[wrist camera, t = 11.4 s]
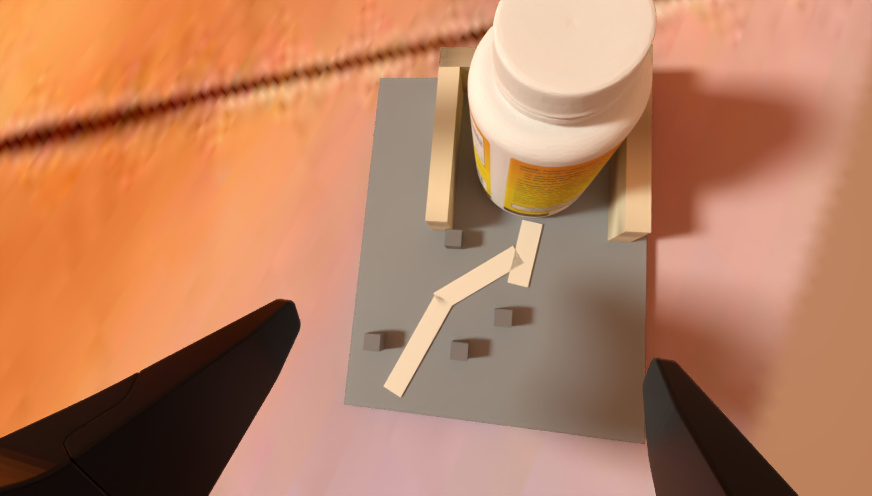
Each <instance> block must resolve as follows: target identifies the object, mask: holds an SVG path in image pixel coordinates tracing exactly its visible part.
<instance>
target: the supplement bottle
mask: <svg viewBox="0 0 872 496" xmlns="http://www.w3.org/2000/svg"><path fill="white" fill-rule="evenodd" d="M655 31H656V8H655V5H654V1H653V0H500V2H499V5H498V7H497V10H496V13H495V17H494V23H493V26H492V27H491V28H490V29H489V30H488V32H487V33H486V34H485V36H484V37H483V39H482V40H481V42H480V43H479V45H478V47H477V48H476V51H475V53H474V56H473V59H472V62H471V65H470V69H469V75H468V101H469V109H470V117H471V126H472V135H473V143H474V151H475V159H476V166H477V173H478V177H479V181H480V183H481V185H482V188H483V190H484V191H485V193H486V194H487V196H488V197H489V198H490V199H491V200H492V201H493V202H494V203H495V204H496V205H497V206H499V207H500V208H502V209H503V210H505V211H507V212H509V213H511V214H514V215H517V216H522V217H530V218H539V217H546V216H549V215H553V214H555V213H558V212H560V211H562V210H564V209H565V208H567V207H569V206H570V205H571V204H572V203H574V202H575V201H576V200H577V199H578V198H579V197H580V195H581V194H582V193H583V192H584V191H585V189H586V188H587V187H588V186H589V184H590V183H591V182H592V181H593V179H594V178H595V177H596V175H597V174H598V173H599V172H600V170H601V169H602V168H603V166H604V165H605V164H606V163H607V161H608V160H609V159H610V157H611V156H612V155H613V154H614V152H615V151H616V150H617V148H618V147H619V146H620V145H621V143H622V142H623V141H624V140H625V138H626V137H627V136H628V134H629V133H630V132H631V131H632V129H633V128H634V126H635V125H636V124H637V122H638V120H639V119H640V117H641V115H642V114H643V112H644V110H645V107H646V105H647V102H648V99H649V96H650V92H651V86H652V63H651V57H650V54H649V50H650V48H651V45H652V42H653V40H654V36H655Z"/></svg>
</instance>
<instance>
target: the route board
mask: <svg viewBox="0 0 872 496" xmlns="http://www.w3.org/2000/svg"><path fill="white" fill-rule="evenodd" d="M437 83H438V78H380V85H379V94H378V103H377V112H376V121H375V130H374V139H373V148H372V157H371V166H370V175H369V184H368V193H367V202H366V211H365V220H364V229H363V238H362V246H361V255H360V264H359V273H358V282H357V291H356V300H355V309H354V318H353V327H352V336H351V345H350V354H349V363H348V372H347V381H346V390H345V399H344V404H345V405H353V406H360V407H368V408H375V409H383V410H391V411H398V412H406V413H413V414H421V415H428V416H436V417H444V418H451V419H459V420H466V421H474V422H482V423H489V424H497V425H504V426H512V427H519V428H527V429H535V430H542V431H550V432H557V433H565V434H573V435H580V436H588V437H595V438H603V439H611V440H618V441H626V442H633V443H641V444H645V413H644V402H643V381H644V379H645V353H646V255H647V235H645V236H643V237H641V238H638V239H636V240H634V241H632V242H614V241H608V206H609V165H610V159H609V160H608V161H607V163H606V164H605V165H604V166H603V168H602V169H601V170H600V172H599V173H598V174H597V175H596V177H595V178H594V179H593V181H592V182H591V183H590V184H589V186H588V187H587V188H586V189H585V191H584V192H583V193H582V194H581V195H580V197H579V198H578V199H577V200H576V201H575V202H574V203H572V204H571V205H570V206H569V207H567V208H565V209H564V210H562V211H560V212H558V213H555V214H553V215H549V216H546V217H539V218H530V217H522V216H517V215H514V214H511V213H509V212H507V211H505V210H503V209H502V208H500V207H499V206H497V205H496V204H495V203H494V202H493V201H492V200H491V199H490V198H489V197H488V196H487V194H486V193H485V191H484V190H483V188H482V185H481V183H480V181H479V177H478V173H477V166H476V159H475V151H474V143H473V135H472V126H471V117H470V109H469V101H468V95H464V97H463V109H462V122H461V134H460V147H459V160H458V172H457V185H456V197H455V210H454V223H453V230H451V229H445V232H439V231H433V230H432V229H431V227H430V226H429V225H428V224H427V222H426V221H425V217H426V206H427V195H428V184H429V172H430V161H431V150H432V139H433V128H434V117H435V105H436V94H437Z"/></svg>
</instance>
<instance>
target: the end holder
mask: <svg viewBox="0 0 872 496" xmlns="http://www.w3.org/2000/svg"><path fill="white" fill-rule="evenodd" d="M476 48H477V47H457V48H441V50H440V61H439V72H438V83H437V94H436V105H435V117H434V128H433V139H432V150H431V161H430V172H429V184H428V195H427V206H426V217H425V221H426V222H427V224H428V225H429V226H430V227H431V229H432V230H433V231H439V232H445V229H451V230H453V223H454V210H455V197H456V185H457V172H458V160H459V147H460V134H461V122H462V109H463V97H464V95H468V75H469V69H470V65H471V62H472V59H473V56H474V53H475V51H476ZM649 54H650V57H651V63H652V68H653V44H652V45H651V48H650V50H649ZM651 184H652V86H651V92H650V96H649V99H648V102H647V105H646V107H645V110H644V112H643V114H642V115H641V117H640V119H639V120H638V122H637V124H636V125H635V126H634V128H633V129H632V131H631V132H630V133H629V134H628V136H627V137H626V138H625V140H624V141H623V142H622V143H621V145H620V146H619V147H618V148H617V150H616V151H615V152H614V154H613V155H612V156H611V157H610V165H609V206H608V241H614V242H632V241H634V240H636V239H638V238H641V237H643V236H645V235H647V234H649V233H651Z"/></svg>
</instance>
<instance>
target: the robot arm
mask: <svg viewBox="0 0 872 496" xmlns="http://www.w3.org/2000/svg"><path fill="white" fill-rule="evenodd" d="M299 330H300V319H299V316H298V313H297V309H296V306H295V303H294V302H293V301H291V300H285V299H277V300H275V301H273V302H271V303H269V304H267V305H265V306H263V307H261V308H259V309H257V310H256V311H254V312H252V313H250V314H248V315H246V316H244V317H242V318H240V319H238V320H236V321H235V322H233V323H231V324H229V325H227V326H225V327H223V328H221V329H219V330H217V331H216V332H214V333H212V334H210V335H208V336H206V337H204V338H202V339H200V340H198V341H196V342H195V343H193V344H191V345H189V346H187V347H185V348H183V349H181V350H179V351H177V352H175V353H174V354H172V355H170V356H168V357H166V358H164V359H162V360H160V361H158V362H156V363H154V364H153V365H151V366H149V367H147V368H145V369H143V370H141V371H140V373H135V374H133V375H131V376H130V377H128V378H126V379H124V380H122V381H120V382H118V383H116V384H114V385H112V386H110V387H108V388H106V389H104V390H102V391H100V392H98V393H96V394H94V395H92V396H90V397H88V398H86V399H84V400H82V401H80V402H78V403H75V404H73V405H71V406H69V407H67V408H65V409H63V410H60V411H58V412H56V413H54V414H52V415H50V416H47V417H45V418H43V419H41V420H39V421H37V422H34V423H32V424H30V425H28V426H26V427H24V428H21V429H19V430H17V431H15V432H13V433H11V434H8V435H6V436H4V437H2V438H0V496H209V494H210V492H211V491H212V489H213V487H214V485H215V484H216V482H217V480H218V479H219V477H220V475H221V474H222V472H223V470H224V468H225V467H226V465H227V463H228V462H229V460H230V458H231V457H232V455H233V453H234V452H235V450H236V448H237V446H238V445H239V443H240V441H241V440H242V438H243V436H244V435H245V433H246V431H247V429H248V428H249V426H250V424H251V423H252V421H253V419H254V418H255V416H256V414H257V412H258V411H259V409H260V407H261V406H262V404H263V402H264V401H265V399H266V397H267V396H268V394H269V392H270V390H271V389H272V387H273V385H274V383H275V382H276V380H277V378H278V376H279V374H280V372H281V370H282V367H283V365H284V363H285V361H286V359H287V357H288V354H289V352H290V350H291V348H292V346H293V344H294V341H295V339H296V337H297V335H298V333H299ZM643 402H644V413H645V424H646V436H647V447H648V456H649V462H650V468H651V473H652V478H653V483H654V487H655V492H656V496H798V494H797V493H796V492H795V491H794V490H793V489H792V488H791V487H790V486H789V485H788V484H787V483H786V481H785V480H784V479H783V478H782V477H781V476H780V475H779V474H778V473H777V471H776V470H775V469H774V468H773V467H772V466H771V465H770V464H769V463H768V462H767V461H766V459H765V458H764V457H763V456H762V455H761V454H760V453H759V452H758V451H757V450H756V448H755V447H754V446H753V445H752V444H751V443H750V442H749V441H748V440H747V439H746V438H745V436H744V435H743V434H742V433H741V432H740V431H739V430H738V429H737V428H736V427H735V426H734V424H733V423H732V422H731V421H730V420H729V419H728V418H727V417H726V416H725V415H724V414H723V412H722V411H721V410H720V409H719V408H718V407H717V406H716V405H715V404H714V403H713V401H712V400H711V399H710V398H709V397H708V396H707V395H706V394H705V393H704V392H703V391H702V389H701V388H700V387H699V386H698V385H697V384H696V383H695V382H694V381H693V380H692V379H691V377H690V376H689V375H688V374H687V373H686V372H685V371H684V370H683V369H682V368H681V366H680V365H679V364H678V363H676V362H675V361H673V360H668V359H662V358H654V359H653V360H652V362H651V364H650V367H649V369H648V371H647V374H646V376H645V379H644V381H643Z"/></svg>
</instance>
